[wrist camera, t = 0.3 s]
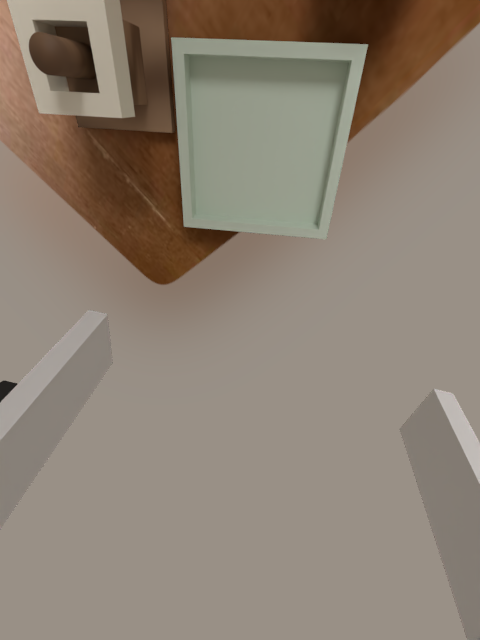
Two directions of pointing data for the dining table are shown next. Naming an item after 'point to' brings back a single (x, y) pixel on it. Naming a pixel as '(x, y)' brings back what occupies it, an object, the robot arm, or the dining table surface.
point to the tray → (263, 131)
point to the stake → (143, 60)
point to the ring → (107, 48)
